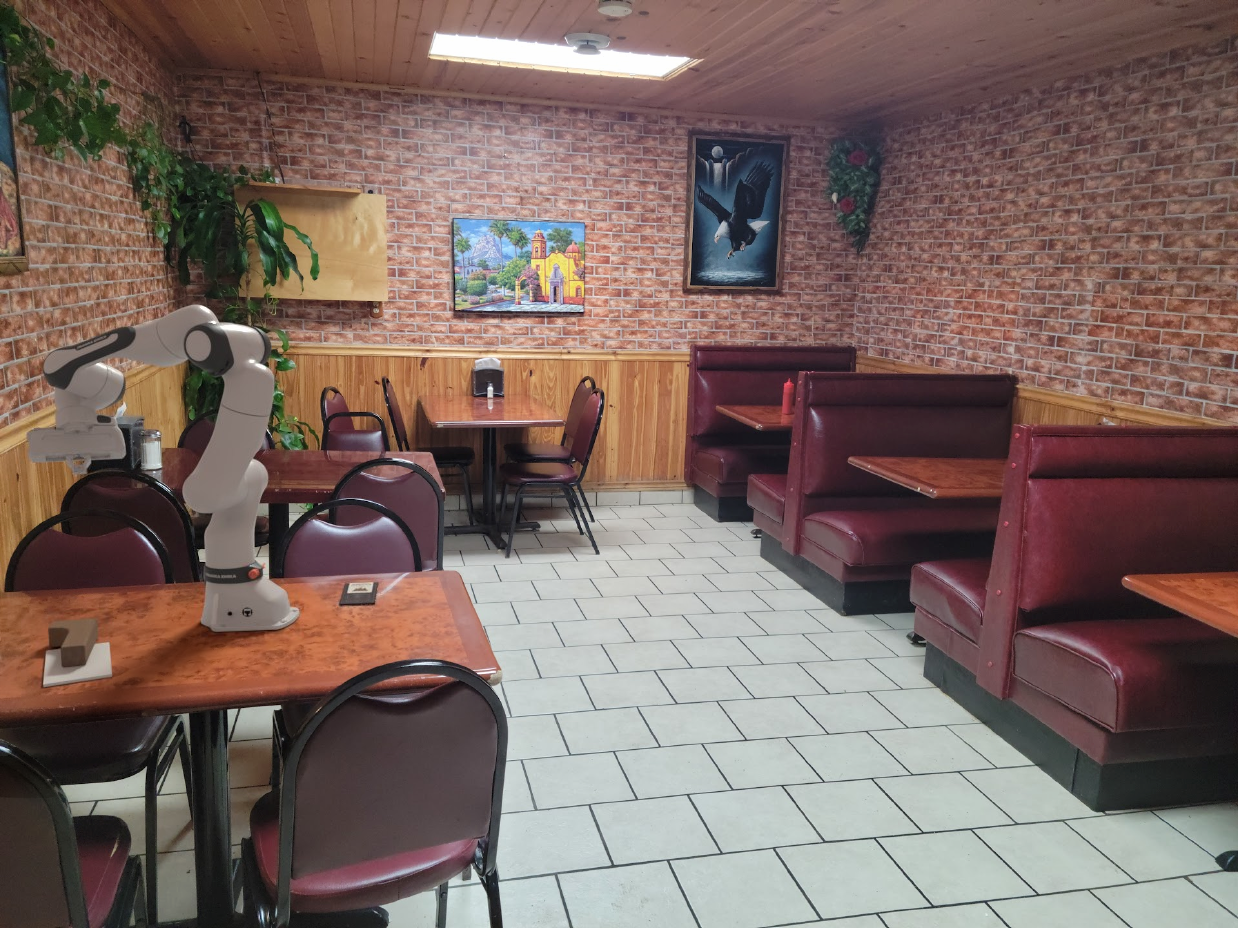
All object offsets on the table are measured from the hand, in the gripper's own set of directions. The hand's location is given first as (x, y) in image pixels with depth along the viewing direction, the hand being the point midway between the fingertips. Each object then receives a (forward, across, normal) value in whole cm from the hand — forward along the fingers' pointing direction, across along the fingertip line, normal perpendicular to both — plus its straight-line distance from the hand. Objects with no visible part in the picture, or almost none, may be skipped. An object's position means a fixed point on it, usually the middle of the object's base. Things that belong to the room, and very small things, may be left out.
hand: (79, 472), depth 217 cm
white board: (+49, -2, +1) cm, 49 cm away
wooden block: (+35, -3, +11) cm, 37 cm away
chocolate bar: (+33, +63, +18) cm, 73 cm away
